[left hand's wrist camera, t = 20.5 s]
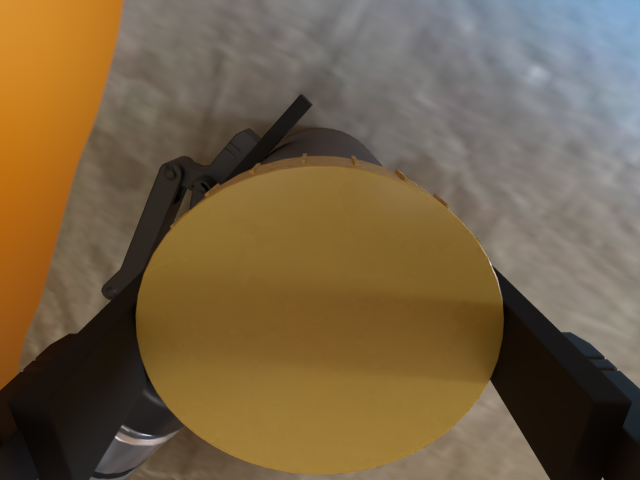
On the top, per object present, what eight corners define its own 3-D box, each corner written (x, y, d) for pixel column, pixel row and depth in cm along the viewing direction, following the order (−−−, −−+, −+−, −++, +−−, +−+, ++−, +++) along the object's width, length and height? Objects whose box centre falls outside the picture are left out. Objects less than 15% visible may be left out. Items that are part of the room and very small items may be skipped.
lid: (86, 274, 12) (49, 301, 10) (379, 71, 10) (390, 66, 8) (281, 471, 15) (276, 515, 13) (532, 353, 13) (561, 389, 11)
